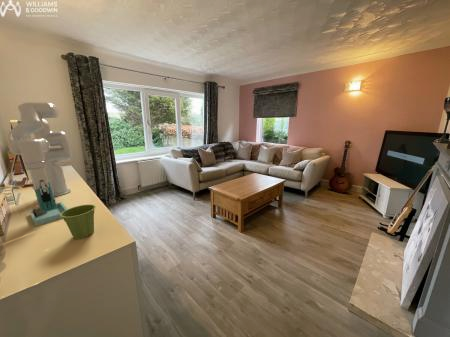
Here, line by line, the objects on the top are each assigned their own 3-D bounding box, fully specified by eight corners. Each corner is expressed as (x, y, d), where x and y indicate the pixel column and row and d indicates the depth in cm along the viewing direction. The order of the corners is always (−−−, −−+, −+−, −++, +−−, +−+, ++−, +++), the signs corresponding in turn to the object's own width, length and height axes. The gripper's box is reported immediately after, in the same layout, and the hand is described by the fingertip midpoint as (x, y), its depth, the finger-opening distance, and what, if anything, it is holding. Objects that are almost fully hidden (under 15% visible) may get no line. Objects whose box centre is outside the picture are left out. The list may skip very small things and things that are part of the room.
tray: (31, 215, 101) (29, 210, 100) (62, 206, 110) (61, 202, 109) (35, 227, 88) (33, 221, 88) (70, 216, 98) (69, 211, 97)
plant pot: (103, 233, 81) (98, 209, 78) (68, 246, 73) (61, 220, 70) (97, 223, 89) (92, 201, 87) (65, 234, 81) (58, 210, 79)
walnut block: (34, 214, 100) (32, 207, 99) (44, 211, 103) (42, 204, 102) (37, 216, 98) (35, 209, 97) (47, 213, 101) (45, 206, 100)
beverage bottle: (47, 215, 93) (36, 176, 89) (37, 214, 95) (25, 176, 90) (61, 209, 100) (51, 172, 95) (51, 208, 101) (41, 172, 96)
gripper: (23, 164, 94) (33, 198, 98) (26, 169, 83) (38, 207, 87) (44, 162, 100) (52, 193, 104) (49, 166, 88) (59, 201, 93)
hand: (46, 199), depth 96 cm, fingers closed on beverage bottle, 6 cm apart
